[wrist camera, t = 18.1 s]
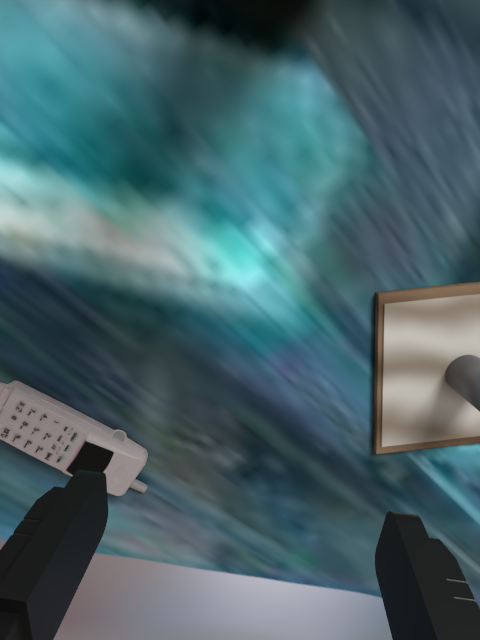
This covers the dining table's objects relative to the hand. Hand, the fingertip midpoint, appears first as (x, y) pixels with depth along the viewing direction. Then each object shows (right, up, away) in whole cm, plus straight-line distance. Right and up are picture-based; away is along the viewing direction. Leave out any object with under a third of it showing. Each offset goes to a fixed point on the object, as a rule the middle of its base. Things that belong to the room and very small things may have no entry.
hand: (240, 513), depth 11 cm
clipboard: (+23, +1, +29) cm, 37 cm away
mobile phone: (-20, -5, +29) cm, 36 cm away
